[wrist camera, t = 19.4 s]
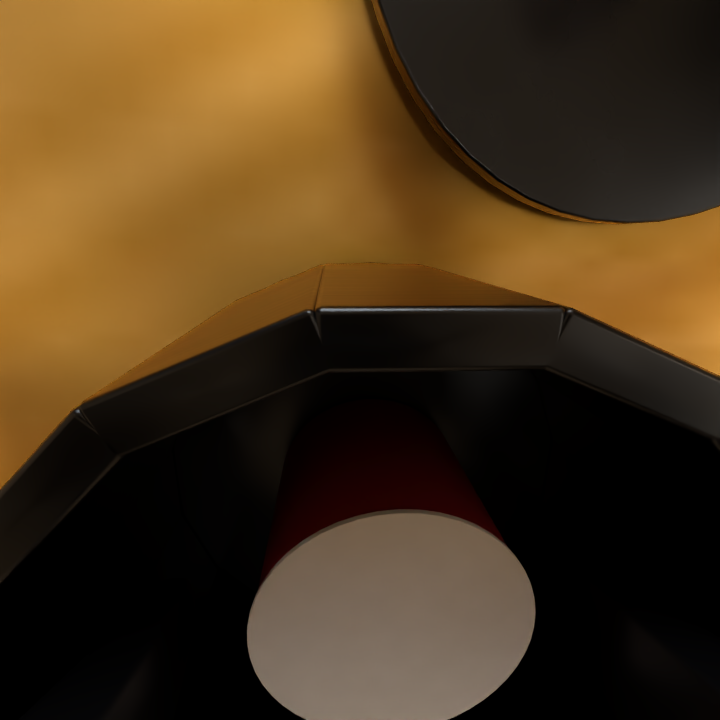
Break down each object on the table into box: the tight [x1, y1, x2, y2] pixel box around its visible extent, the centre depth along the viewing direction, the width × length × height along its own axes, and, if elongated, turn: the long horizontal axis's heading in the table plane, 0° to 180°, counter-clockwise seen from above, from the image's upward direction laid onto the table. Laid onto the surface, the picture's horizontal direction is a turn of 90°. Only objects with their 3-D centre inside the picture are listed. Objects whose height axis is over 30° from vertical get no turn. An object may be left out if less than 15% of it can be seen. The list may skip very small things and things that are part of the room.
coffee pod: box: [247, 399, 536, 720], centre depth 9 cm, size 5×5×4 cm
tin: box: [0, 263, 720, 720], centre depth 8 cm, size 11×11×6 cm
